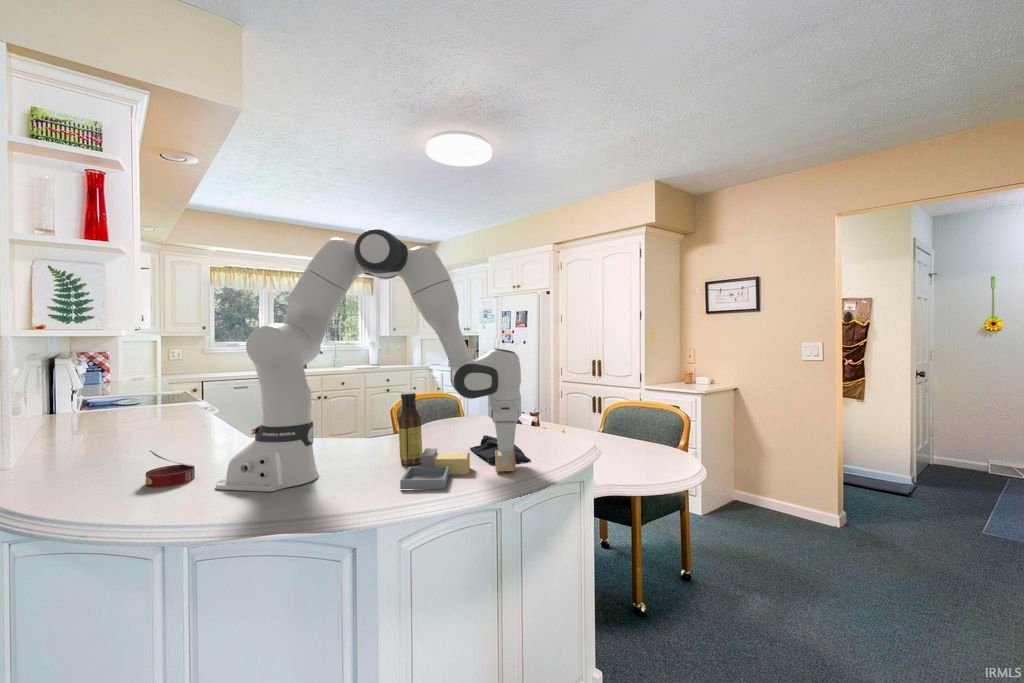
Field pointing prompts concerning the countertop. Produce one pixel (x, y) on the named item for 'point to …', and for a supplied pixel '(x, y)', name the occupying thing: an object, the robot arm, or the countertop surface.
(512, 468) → the stub
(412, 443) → the sauce bottle
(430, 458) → the beige boxy piece
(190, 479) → the canned food
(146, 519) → the countertop surface
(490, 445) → the crumpled black cloth
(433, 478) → the tray
